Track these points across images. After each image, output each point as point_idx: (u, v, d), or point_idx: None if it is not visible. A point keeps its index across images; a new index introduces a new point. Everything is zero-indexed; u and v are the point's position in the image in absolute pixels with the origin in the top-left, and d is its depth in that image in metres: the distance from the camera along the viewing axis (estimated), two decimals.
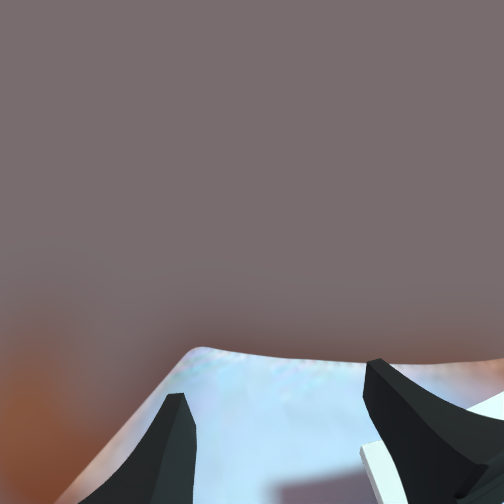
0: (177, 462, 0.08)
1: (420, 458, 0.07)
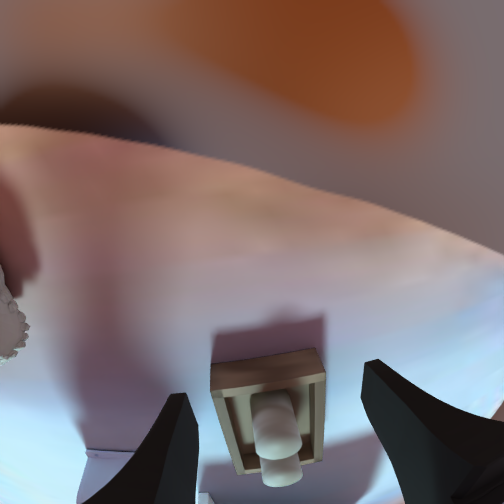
0: (180, 462, 0.08)
1: (417, 459, 0.07)
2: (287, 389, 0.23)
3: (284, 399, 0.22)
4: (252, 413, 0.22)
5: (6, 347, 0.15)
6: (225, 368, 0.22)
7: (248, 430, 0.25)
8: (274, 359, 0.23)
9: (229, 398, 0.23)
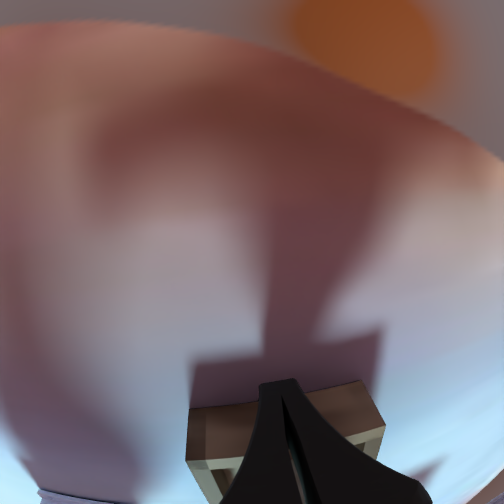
0: None
1: (309, 493, 0.07)
2: None
3: None
4: None
5: None
6: (213, 418, 0.12)
7: None
8: None
9: None
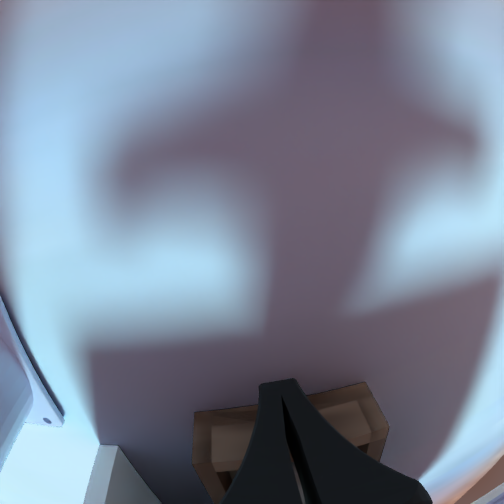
0: None
1: (309, 493, 0.07)
2: None
3: None
4: None
5: None
6: (218, 421, 0.12)
7: None
8: None
9: None
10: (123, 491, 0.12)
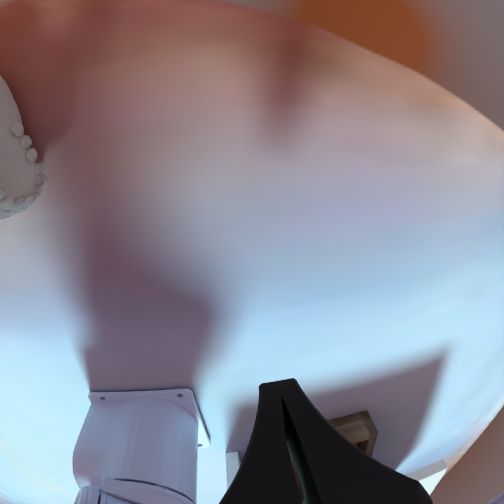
0: None
1: (309, 493, 0.07)
2: None
3: None
4: None
5: (13, 193, 0.12)
6: None
7: None
8: (337, 422, 0.26)
9: None
10: None
